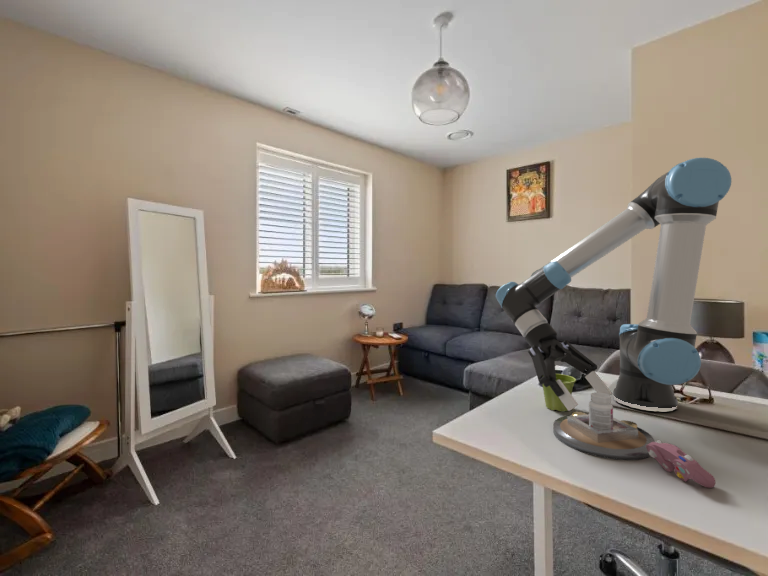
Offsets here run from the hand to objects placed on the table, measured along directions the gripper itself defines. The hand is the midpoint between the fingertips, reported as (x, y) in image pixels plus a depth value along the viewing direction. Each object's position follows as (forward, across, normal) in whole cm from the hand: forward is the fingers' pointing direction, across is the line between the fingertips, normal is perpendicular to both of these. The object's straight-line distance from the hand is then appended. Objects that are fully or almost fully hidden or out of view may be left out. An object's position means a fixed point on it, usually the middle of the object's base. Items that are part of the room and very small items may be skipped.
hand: (591, 402), depth 84 cm
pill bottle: (+6, 0, -3) cm, 7 cm away
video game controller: (+18, +3, +7) cm, 20 cm away
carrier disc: (+7, 0, -4) cm, 8 cm away
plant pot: (-5, -9, -16) cm, 19 cm away
